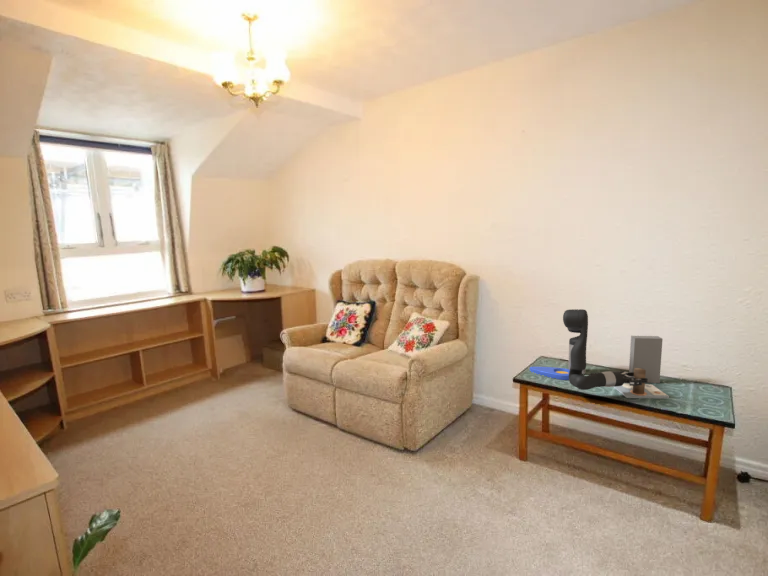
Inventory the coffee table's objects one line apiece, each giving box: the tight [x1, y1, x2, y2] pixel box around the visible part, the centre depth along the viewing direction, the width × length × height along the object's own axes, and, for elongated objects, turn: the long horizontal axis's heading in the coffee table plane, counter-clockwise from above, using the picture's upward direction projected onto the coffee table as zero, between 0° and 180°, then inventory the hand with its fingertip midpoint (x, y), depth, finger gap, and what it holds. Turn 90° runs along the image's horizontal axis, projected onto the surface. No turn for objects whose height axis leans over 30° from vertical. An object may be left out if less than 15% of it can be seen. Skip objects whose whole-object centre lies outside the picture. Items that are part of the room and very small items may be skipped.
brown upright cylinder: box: [633, 368, 646, 394], centre depth 209 cm, size 5×5×12 cm
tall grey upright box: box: [628, 335, 663, 384], centre depth 227 cm, size 14×6×25 cm, turn 80°
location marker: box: [529, 366, 570, 381], centre depth 242 cm, size 13×3×25 cm
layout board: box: [613, 383, 670, 399], centre depth 214 cm, size 16×20×2 cm
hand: (641, 377), depth 209 cm, fingers open, 8 cm apart
